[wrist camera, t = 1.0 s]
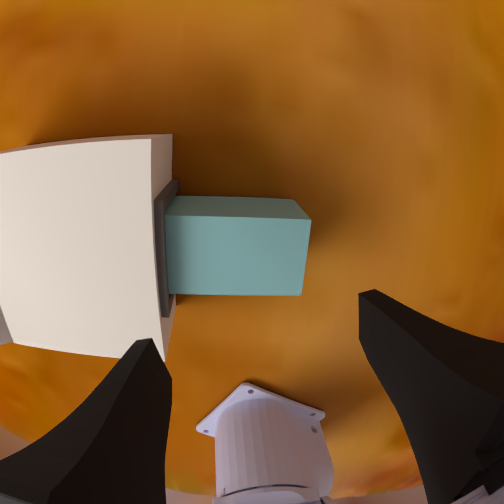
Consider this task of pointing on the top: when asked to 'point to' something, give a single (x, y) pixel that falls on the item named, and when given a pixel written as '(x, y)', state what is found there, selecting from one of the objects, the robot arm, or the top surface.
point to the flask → (4, 330)
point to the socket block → (87, 243)
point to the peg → (236, 245)
